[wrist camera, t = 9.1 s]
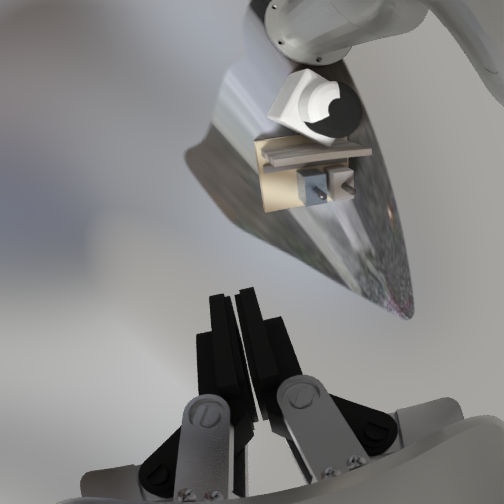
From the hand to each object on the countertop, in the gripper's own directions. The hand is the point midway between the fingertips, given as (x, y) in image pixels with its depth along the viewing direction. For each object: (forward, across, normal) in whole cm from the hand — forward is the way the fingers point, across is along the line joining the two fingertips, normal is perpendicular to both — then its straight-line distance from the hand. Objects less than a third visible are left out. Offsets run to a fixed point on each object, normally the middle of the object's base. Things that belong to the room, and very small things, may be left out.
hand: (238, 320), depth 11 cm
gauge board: (+29, -12, +3) cm, 32 cm away
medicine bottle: (+30, -13, -6) cm, 33 cm away
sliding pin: (+28, -12, +5) cm, 31 cm away
